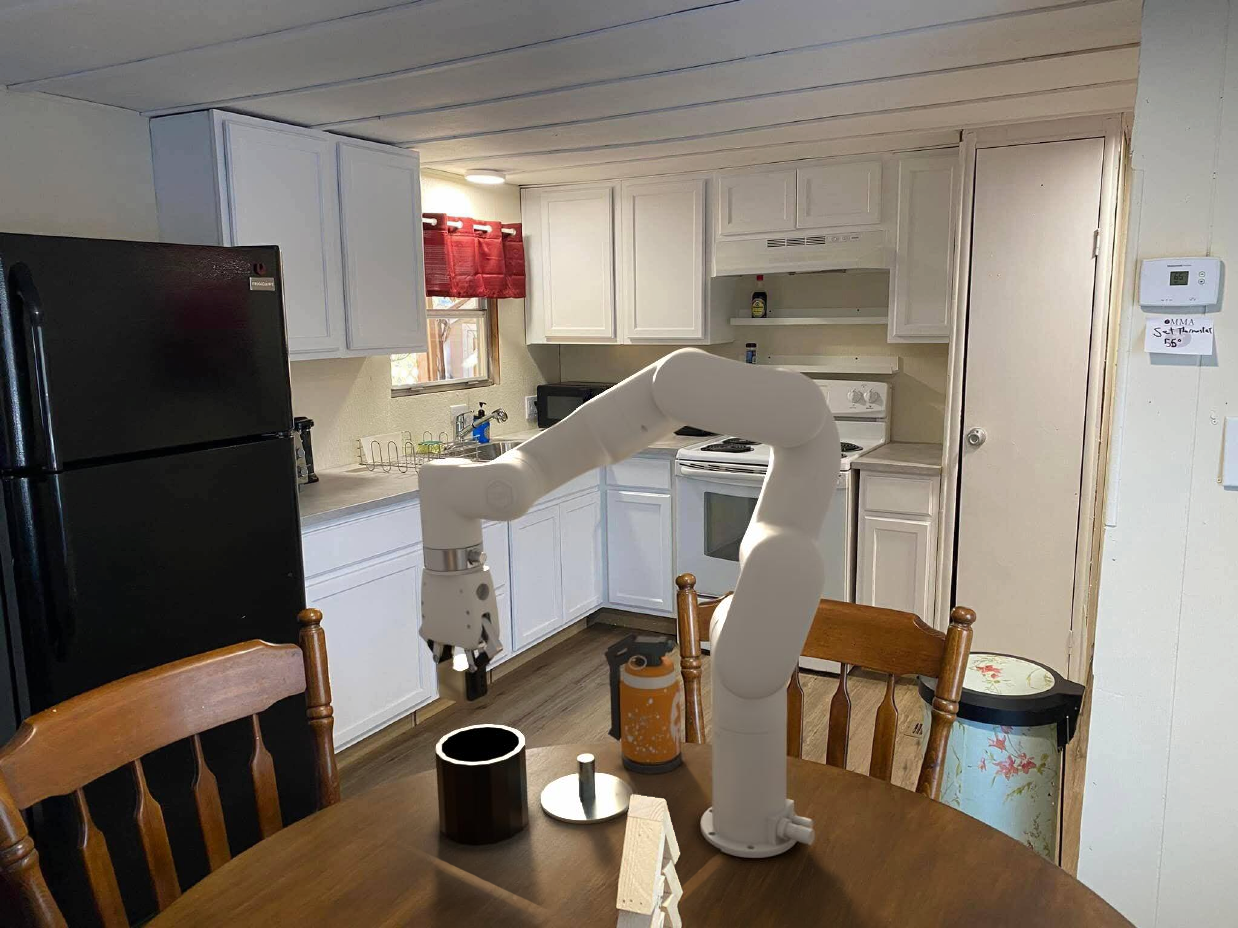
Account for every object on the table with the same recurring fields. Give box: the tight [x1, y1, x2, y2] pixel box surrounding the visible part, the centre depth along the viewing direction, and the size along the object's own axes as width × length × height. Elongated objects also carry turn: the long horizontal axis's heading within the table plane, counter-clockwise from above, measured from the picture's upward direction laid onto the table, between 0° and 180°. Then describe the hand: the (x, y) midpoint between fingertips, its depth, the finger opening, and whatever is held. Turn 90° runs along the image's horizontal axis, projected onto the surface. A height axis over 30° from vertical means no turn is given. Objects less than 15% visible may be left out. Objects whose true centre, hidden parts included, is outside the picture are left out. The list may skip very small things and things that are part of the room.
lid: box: [540, 753, 634, 825], centre depth 126 cm, size 13×13×7 cm
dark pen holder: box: [434, 724, 530, 847], centre depth 121 cm, size 12×12×12 cm
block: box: [436, 654, 469, 705], centre depth 118 cm, size 4×4×4 cm
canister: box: [603, 632, 682, 774], centre depth 136 cm, size 9×11×20 cm
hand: (463, 692), depth 118 cm, fingers closed on block, 4 cm apart
